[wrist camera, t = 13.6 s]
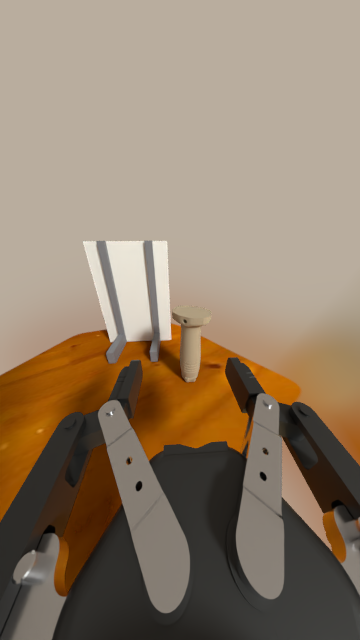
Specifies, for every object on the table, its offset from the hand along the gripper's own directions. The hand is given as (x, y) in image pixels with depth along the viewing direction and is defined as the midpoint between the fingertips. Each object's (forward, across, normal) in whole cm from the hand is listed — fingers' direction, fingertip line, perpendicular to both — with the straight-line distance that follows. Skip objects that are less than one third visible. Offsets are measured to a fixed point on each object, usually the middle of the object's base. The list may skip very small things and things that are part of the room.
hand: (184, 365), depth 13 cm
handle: (+11, -2, +15) cm, 18 cm away
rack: (+21, +11, +15) cm, 28 cm away
